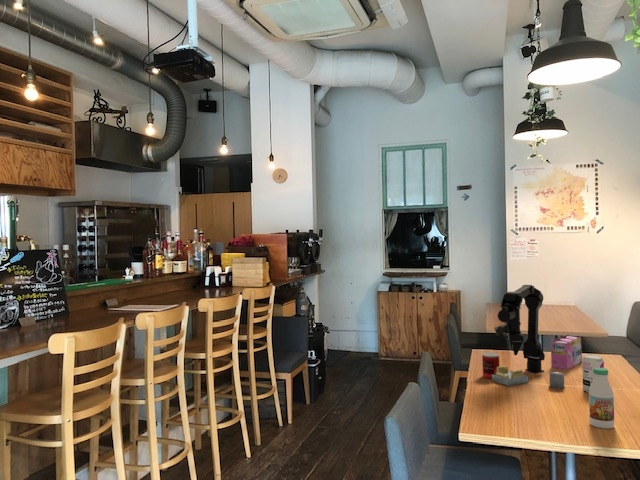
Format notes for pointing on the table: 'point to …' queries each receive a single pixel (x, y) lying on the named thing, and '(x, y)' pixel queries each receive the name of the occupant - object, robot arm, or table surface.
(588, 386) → the supplement can
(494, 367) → the canned food
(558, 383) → the grey rounded piece
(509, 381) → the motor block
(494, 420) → the table surface
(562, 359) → the pink drink carton pack
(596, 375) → the milk bottle
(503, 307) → the robot arm
